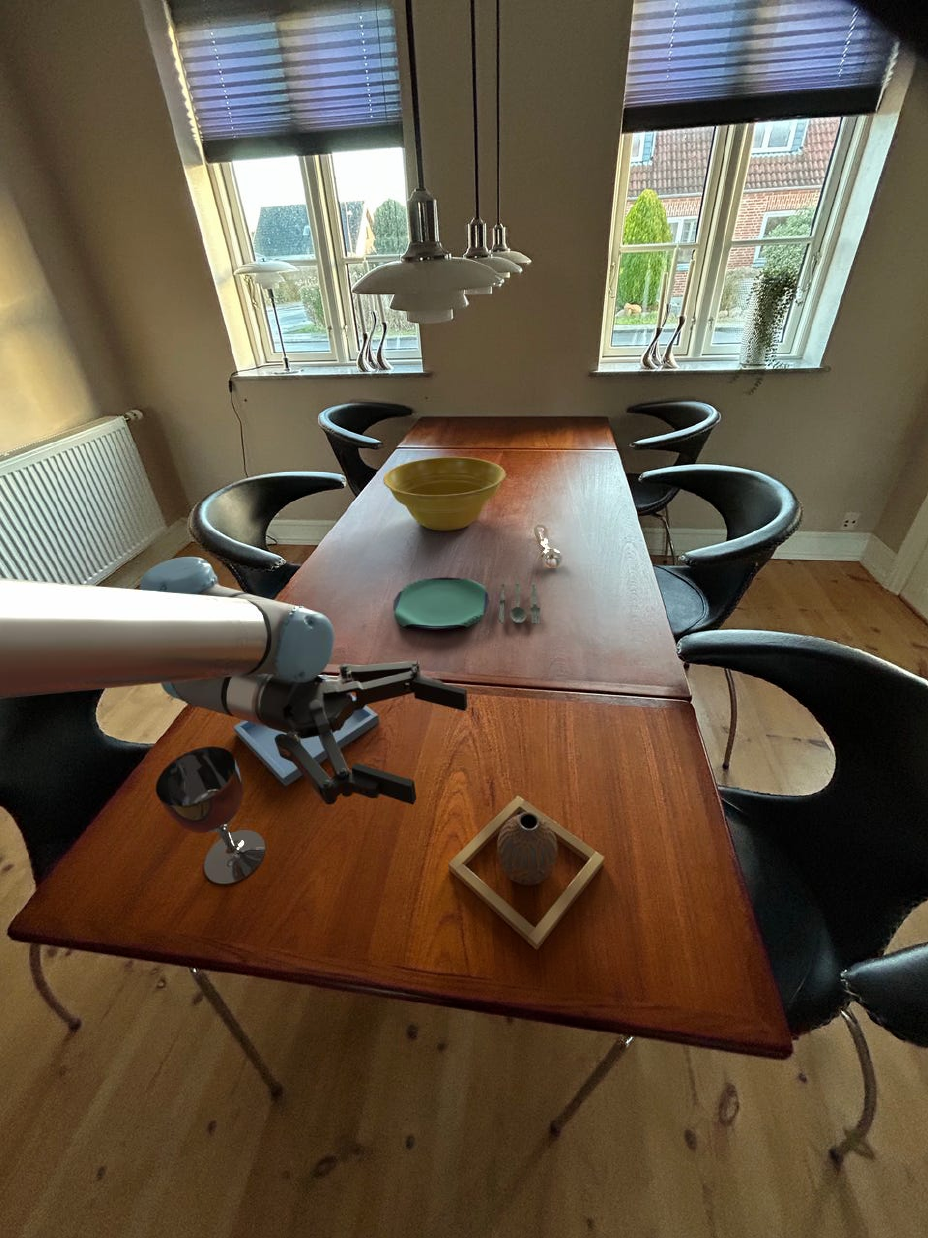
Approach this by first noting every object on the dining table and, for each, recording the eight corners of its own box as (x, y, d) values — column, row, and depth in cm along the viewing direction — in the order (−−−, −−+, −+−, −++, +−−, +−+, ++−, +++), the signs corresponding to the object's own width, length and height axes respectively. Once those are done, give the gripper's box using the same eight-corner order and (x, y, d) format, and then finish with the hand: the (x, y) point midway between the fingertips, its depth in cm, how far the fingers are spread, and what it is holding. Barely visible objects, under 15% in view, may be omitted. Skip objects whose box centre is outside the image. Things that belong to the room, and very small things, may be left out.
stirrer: (530, 518, 137) (548, 517, 137) (530, 530, 139) (548, 529, 139) (544, 557, 121) (564, 556, 121) (543, 571, 123) (563, 570, 123)
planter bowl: (405, 498, 163) (400, 454, 155) (510, 501, 158) (510, 456, 150) (373, 544, 136) (366, 494, 129) (498, 549, 131) (498, 497, 124)
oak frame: (536, 950, 55) (537, 945, 54) (448, 869, 62) (447, 864, 62) (603, 863, 62) (604, 857, 62) (517, 801, 70) (518, 795, 69)
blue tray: (285, 786, 73) (282, 778, 72) (236, 734, 82) (233, 726, 81) (379, 722, 83) (378, 714, 82) (326, 681, 92) (324, 674, 91)
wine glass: (185, 876, 63) (137, 795, 54) (229, 820, 69) (193, 740, 61) (241, 896, 61) (200, 814, 52) (281, 836, 67) (251, 755, 58)
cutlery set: (402, 584, 119) (401, 575, 118) (537, 585, 116) (537, 575, 115) (385, 635, 102) (384, 626, 101) (541, 638, 100) (542, 628, 99)
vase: (505, 833, 66) (506, 788, 61) (560, 849, 64) (566, 803, 59) (489, 884, 61) (489, 839, 56) (548, 903, 59) (553, 858, 54)
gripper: (341, 659, 74) (482, 693, 68) (211, 799, 56) (389, 867, 49) (331, 614, 70) (482, 646, 63) (187, 751, 51) (379, 817, 44)
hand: (442, 742), depth 56 cm, fingers open, 13 cm apart
